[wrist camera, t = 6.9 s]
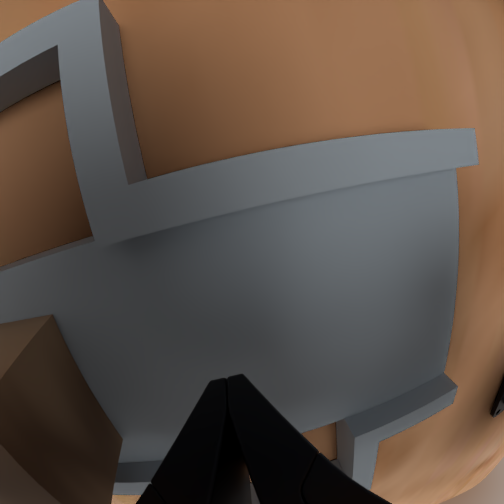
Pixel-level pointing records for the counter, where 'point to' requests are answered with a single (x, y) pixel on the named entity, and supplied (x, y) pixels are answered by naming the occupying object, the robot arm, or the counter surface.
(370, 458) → the trap tray
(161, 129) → the counter surface
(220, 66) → the counter surface
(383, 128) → the counter surface
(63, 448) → the walnut block
